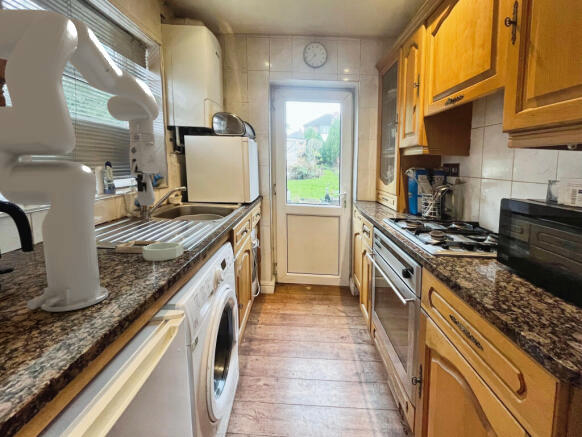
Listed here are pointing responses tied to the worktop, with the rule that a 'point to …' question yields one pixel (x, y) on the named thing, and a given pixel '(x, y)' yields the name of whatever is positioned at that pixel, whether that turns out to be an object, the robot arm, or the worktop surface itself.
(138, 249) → the tray
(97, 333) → the worktop surface
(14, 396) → the worktop surface
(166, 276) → the worktop surface
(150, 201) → the salt shaker
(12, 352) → the worktop surface
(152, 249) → the holder ring
